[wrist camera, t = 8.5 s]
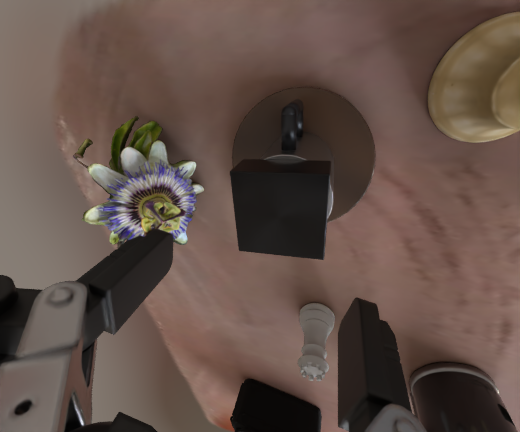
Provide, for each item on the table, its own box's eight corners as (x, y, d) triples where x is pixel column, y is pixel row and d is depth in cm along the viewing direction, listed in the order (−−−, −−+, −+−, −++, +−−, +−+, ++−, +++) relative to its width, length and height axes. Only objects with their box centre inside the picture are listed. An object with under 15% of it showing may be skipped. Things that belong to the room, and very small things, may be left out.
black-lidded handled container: (331, 198, 25) (328, 264, 16) (267, 195, 26) (234, 254, 18) (339, 95, 20) (342, 112, 12) (263, 98, 22) (217, 115, 14)
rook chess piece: (309, 328, 36) (303, 388, 29) (293, 305, 34) (283, 362, 27) (340, 321, 34) (342, 385, 27) (325, 297, 32) (322, 357, 25)
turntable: (345, 235, 28) (345, 241, 26) (229, 203, 29) (225, 207, 28) (399, 104, 21) (402, 106, 20) (245, 72, 22) (241, 72, 21)
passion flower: (215, 170, 34) (207, 259, 28) (136, 175, 35) (112, 262, 29) (183, 94, 24) (160, 210, 18) (73, 105, 25) (20, 218, 19)
